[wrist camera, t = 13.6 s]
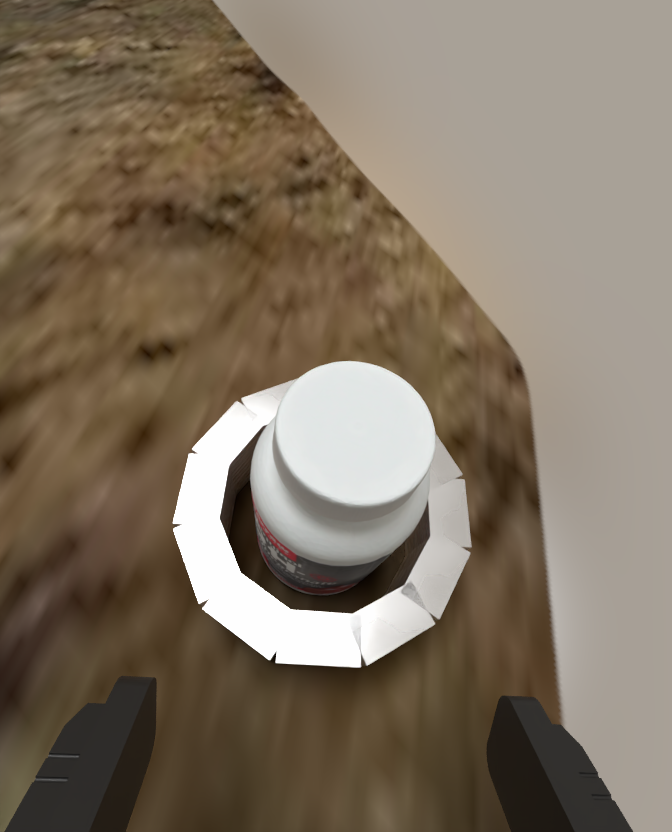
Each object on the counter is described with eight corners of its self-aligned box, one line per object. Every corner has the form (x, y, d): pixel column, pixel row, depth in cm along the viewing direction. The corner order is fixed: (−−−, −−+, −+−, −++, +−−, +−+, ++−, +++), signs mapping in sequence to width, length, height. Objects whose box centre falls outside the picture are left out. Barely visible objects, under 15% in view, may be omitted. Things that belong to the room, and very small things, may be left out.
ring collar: (136, 559, 18) (108, 536, 15) (291, 383, 23) (294, 339, 20) (359, 730, 16) (380, 745, 13) (475, 498, 21) (509, 469, 18)
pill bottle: (235, 569, 18) (200, 482, 9) (285, 456, 21) (294, 310, 12) (360, 618, 18) (442, 574, 9) (395, 497, 20) (483, 377, 12)
